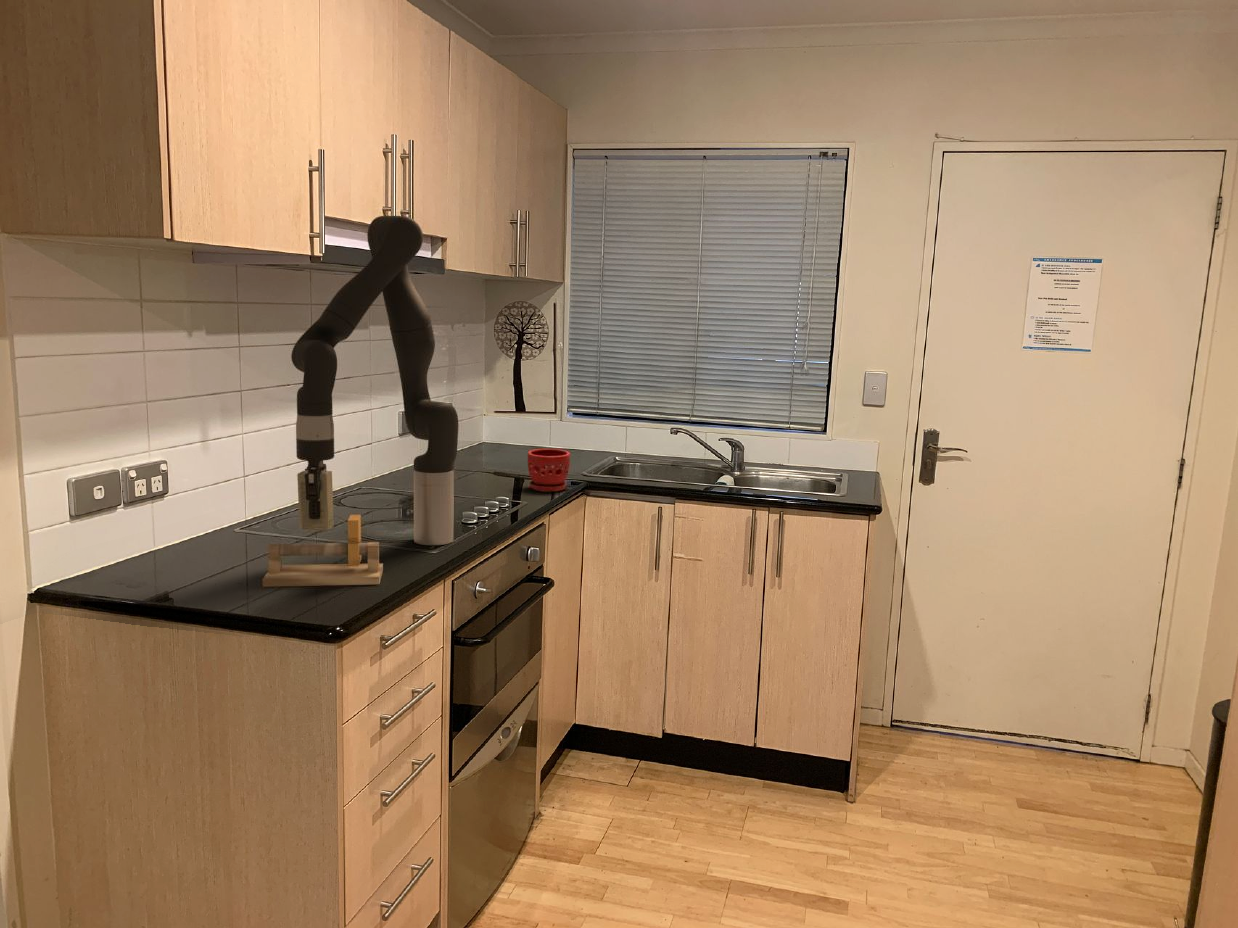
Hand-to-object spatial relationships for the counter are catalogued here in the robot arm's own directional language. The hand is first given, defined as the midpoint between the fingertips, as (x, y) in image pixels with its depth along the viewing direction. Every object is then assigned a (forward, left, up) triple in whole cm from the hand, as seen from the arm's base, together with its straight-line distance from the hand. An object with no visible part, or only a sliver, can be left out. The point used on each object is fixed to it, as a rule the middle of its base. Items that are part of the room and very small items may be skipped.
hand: (316, 515), depth 192 cm
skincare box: (0, 0, -3) cm, 3 cm away
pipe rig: (+11, +3, -10) cm, 15 cm away
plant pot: (-82, +58, -11) cm, 100 cm away
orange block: (+11, +9, -7) cm, 16 cm away
